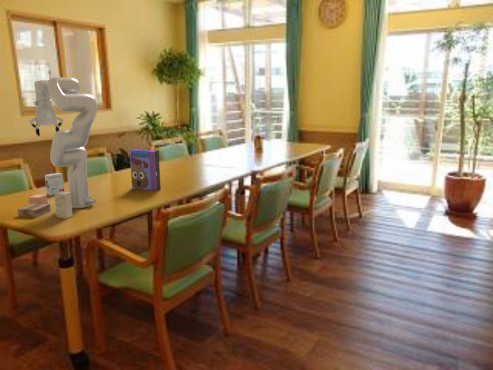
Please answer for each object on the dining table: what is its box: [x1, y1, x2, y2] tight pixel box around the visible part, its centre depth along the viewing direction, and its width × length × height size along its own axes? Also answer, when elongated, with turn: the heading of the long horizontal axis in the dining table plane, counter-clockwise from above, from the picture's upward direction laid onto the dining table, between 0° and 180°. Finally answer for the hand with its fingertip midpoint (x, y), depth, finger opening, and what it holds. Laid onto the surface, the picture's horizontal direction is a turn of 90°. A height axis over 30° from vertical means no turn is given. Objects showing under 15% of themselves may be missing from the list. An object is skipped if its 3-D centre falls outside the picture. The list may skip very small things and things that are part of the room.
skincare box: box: [54, 191, 73, 220], centre depth 194 cm, size 6×4×12 cm
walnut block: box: [17, 203, 51, 218], centre depth 201 cm, size 10×10×4 cm
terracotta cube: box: [28, 193, 49, 204], centre depth 212 cm, size 6×6×6 cm
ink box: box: [44, 172, 66, 196], centre depth 238 cm, size 9×5×12 cm, turn 141°
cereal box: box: [128, 148, 162, 192], centre depth 246 cm, size 17×5×24 cm, turn 68°
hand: (48, 135), depth 227 cm, fingers open, 9 cm apart
